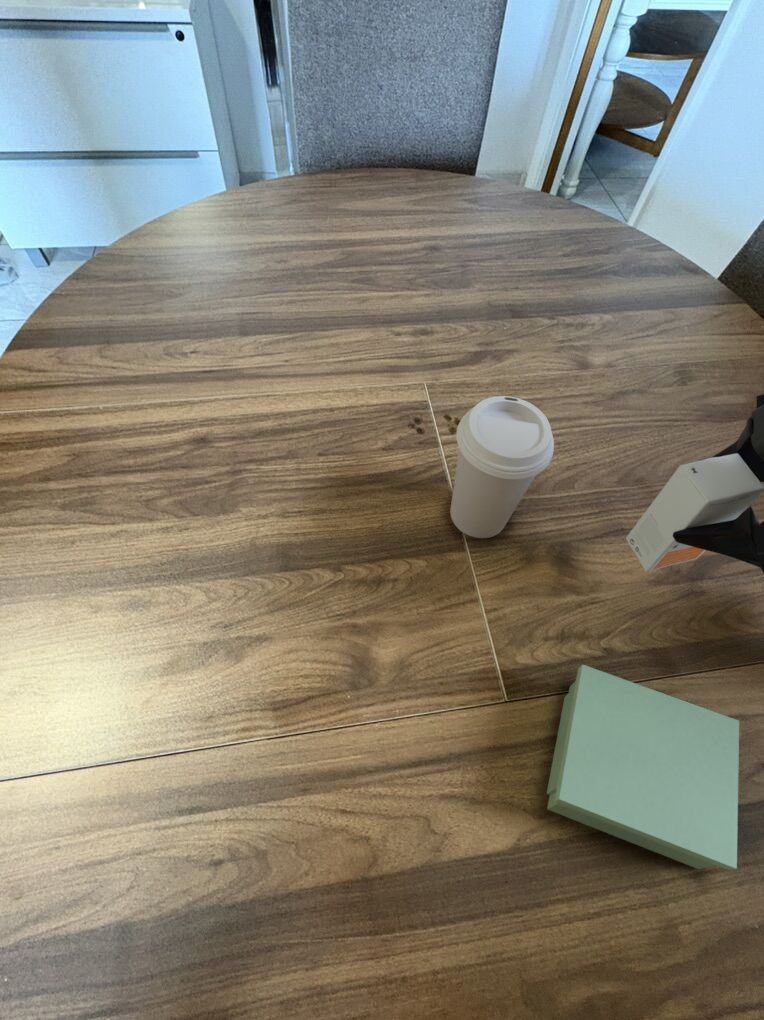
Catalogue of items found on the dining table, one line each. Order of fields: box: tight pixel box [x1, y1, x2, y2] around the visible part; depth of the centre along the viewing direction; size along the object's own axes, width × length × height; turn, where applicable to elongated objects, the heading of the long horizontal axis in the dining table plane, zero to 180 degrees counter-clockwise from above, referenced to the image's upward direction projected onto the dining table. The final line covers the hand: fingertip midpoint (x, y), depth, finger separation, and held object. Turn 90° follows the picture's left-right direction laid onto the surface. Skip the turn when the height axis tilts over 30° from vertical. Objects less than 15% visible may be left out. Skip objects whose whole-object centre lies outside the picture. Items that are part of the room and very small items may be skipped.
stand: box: [546, 664, 740, 871], centre depth 53 cm, size 14×12×5 cm
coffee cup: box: [449, 395, 555, 539], centre depth 64 cm, size 10×10×15 cm
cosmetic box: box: [625, 454, 764, 573], centre depth 56 cm, size 6×4×12 cm
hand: (677, 507), depth 56 cm, fingers closed on cosmetic box, 6 cm apart
